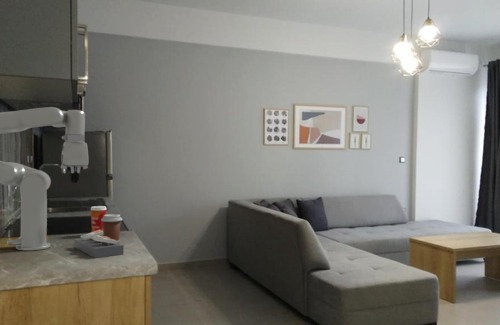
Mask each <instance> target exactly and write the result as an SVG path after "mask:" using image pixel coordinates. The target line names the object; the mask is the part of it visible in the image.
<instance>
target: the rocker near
mask: <svg viewBox="0 0 500 325" xmlns="http://www.w3.org/2000/svg"><path fill="white" fill-rule="evenodd" d="M93 240H95V241H100V242H107V243H114V244H116V243H118V242H117V241H116V240H114V239H109V238H102V237H95V236H93Z"/></svg>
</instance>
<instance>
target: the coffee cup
mask: <svg viewBox="0 0 500 325" xmlns="http://www.w3.org/2000/svg"><path fill="white" fill-rule="evenodd" d="M101 221H103V233H104V236H107V237H109V238H110V239H114V240H116V241H117V243H119V242H118V241H120V232H121V224H122V221H123V218H122V217H121V214H118V213H117V214H116V213H113V214H112V213H111V214H107V213H106V215H104V217H103V218H102V219H101Z"/></svg>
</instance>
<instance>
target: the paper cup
mask: <svg viewBox="0 0 500 325" xmlns="http://www.w3.org/2000/svg"><path fill="white" fill-rule="evenodd" d="M104 215H107V207H106V206H105V205H97V206H96V205H95V206H91V207H90V218H91V232H94V231H97V230H101V231H103V221H101V219H102V218H103V217H104ZM102 235H104V234H102ZM99 236H100V235H99Z"/></svg>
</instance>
